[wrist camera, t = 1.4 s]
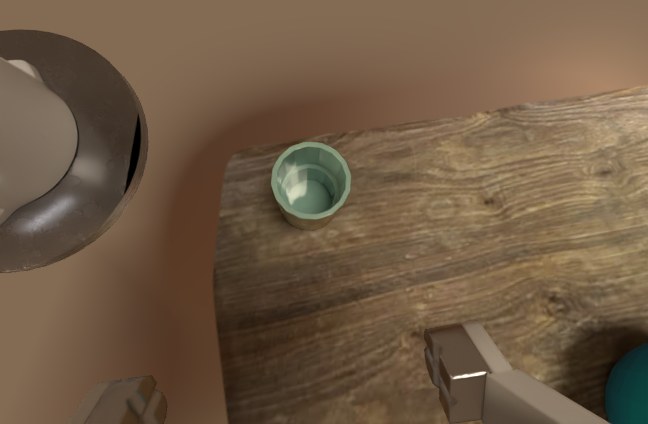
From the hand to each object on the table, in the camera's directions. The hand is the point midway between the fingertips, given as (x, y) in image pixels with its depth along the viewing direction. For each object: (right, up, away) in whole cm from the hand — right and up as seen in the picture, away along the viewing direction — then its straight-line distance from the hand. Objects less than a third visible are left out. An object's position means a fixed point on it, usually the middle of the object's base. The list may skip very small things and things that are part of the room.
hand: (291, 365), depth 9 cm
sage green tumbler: (-1, +6, +23) cm, 23 cm away
